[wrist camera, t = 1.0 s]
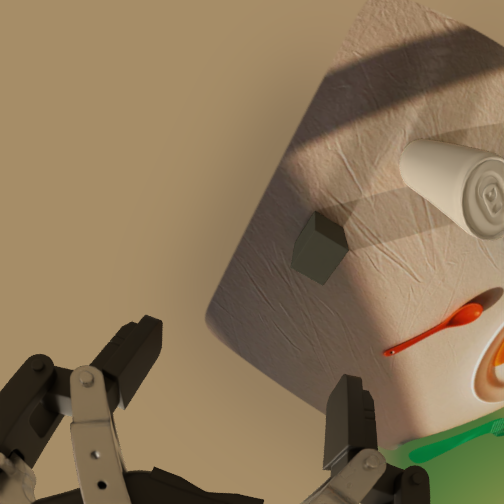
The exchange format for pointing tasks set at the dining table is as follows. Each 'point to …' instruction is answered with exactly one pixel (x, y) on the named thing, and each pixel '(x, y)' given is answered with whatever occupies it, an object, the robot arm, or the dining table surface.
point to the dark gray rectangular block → (319, 248)
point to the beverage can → (458, 184)
